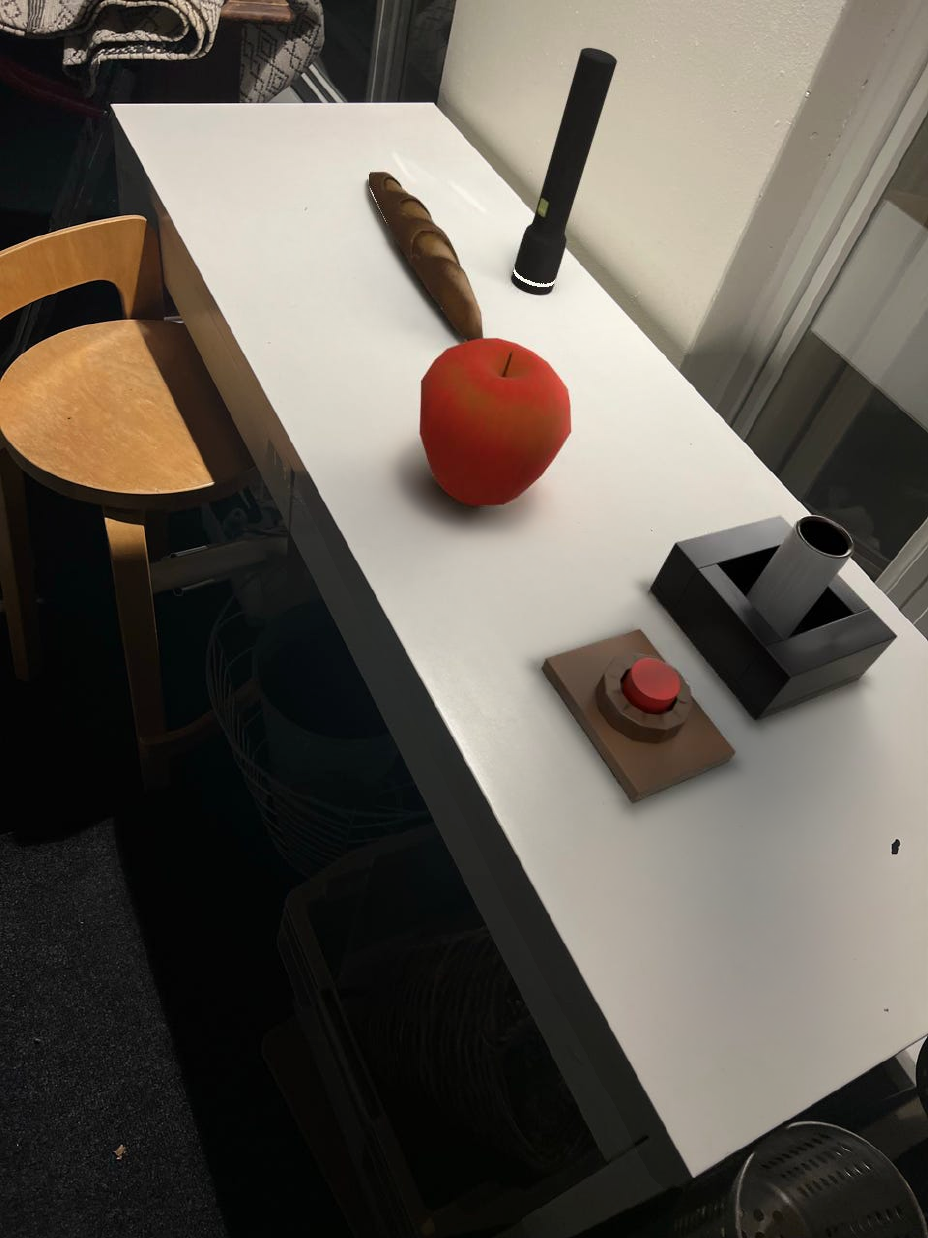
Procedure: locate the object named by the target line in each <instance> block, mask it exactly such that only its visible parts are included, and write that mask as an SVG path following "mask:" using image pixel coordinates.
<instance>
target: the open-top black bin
mask: <svg viewBox="0 0 928 1238" xmlns="http://www.w3.org/2000/svg"><path fill="white" fill-rule="evenodd" d="M792 528H793V526H792V525H791V524H790V523H789V522H788V521H787V520H786V519H785V517H783V515H781V514H778V515H775V516H770V517H768V518H764V519H759V520H756V521H752V522H749V523H745V524H741V525H737V526H734V527H733V526H732V527H730V528H726V529H722V530H719V531H714V532H710V533H706V534H703V535H699V536H695V537H692V538H688V539H684V540H680V541H676V542H675V543H674V544H673V546H672V547H671V549H670V551H669V553H668V555H667V556H666V558H665V559H664V562H663V564H662V566H661V568H660V570H659V571H658V573H657V575H656V576H655V579H654V581H653V582H652V584H651V586H650V587H649V590H650V592H651V593H652V594H653V596H655V598H656V599H657V600H658V601H659V603H660V604H661V605H662V606H663V608H664V609H665V610H666V612H668V614H669V615H670V616H671V618H672V619H673V620H674V622H676V624H677V625H678V626H679V627H680V629H681V630H682V631H683V633H684V634H685V635H686V637H688V639H689V640H690V641H691V643H693V645H694V646H695V648H696V649H697V650H698V652H700V654H701V655H702V656H703V657H704V659H705V660H706V661H707V662H708V664H709V665H710V666H711V667H712V669H713V670H714V671H715V672H716V674H717V675H718V676H719V677H720V678H721V679H722V681H723V682H724V683H725V684H726V686H727V687H728V688H729V690H730V691H731V692H732V694H733V695H734V696H735V697H736V698H737V700H739V702H740V703H741V704H742V706H743V707H744V708H745V709H746V711H747V712H748V713H749V715H750V716H751V717H752V718H753V719H754V721H759V720H762V719H764V718H766V717H769V716H771V715H774V714H776V713H779V712H781V711H784V710H786V709H788V708H791V707H794V706H796V705H798V704H801V703H803V702H806V701H808V700H811V699H813V698H815V697H817V696H820V695H823V694H825V693H828V692H830V691H833V690H835V689H838V688H840V687H842V686H845V685H847V684H850V683H852V682H854V681H857V680H860V679H861V678H862V677H863V676H864V674H866V672H867V671H868V670H869V669H870V668H871V666H873V664H874V663H876V661H877V660H878V659H879V658H880V657H881V655H883V654H884V652H885V651H886V650H887V649H888V648H889V647H890V646H891V644H893V642H894V641H895V640H896V639H897V638H898V635H897V634H896V633H895V631H894V630H892V629H891V627H890V626H888V624H886V622H885V621H884V620H883V619H882V618H881V617H880V616H879V615H878V614H877V613H876V612H875V611H874V610H873V608H871V607H870V606H869V605H868V603H866V602H865V600H864V599H863V598H862V597H861V596H860V595H859V594H857V592H856V591H855V590H854V589H853V588H852V587H851V586H850V585H849V584H848V583H847V581H845V580H844V579H843V578H842V576H840V575H839V573H837V575H836V576H835V577H834V579H833V580H832V581H831V583H830V584H829V585H828V586H827V588H826V589H825V590H824V592H823V593H822V594H821V596H820V597H819V598H818V599H817V601H816V602H815V603H814V605H813V606H812V607H811V609H810V610H809V611H808V613H807V614H806V615H805V616H804V618H803V619H802V620H801V622H800V623H799V624H798V626H797V627H796V628H795V629H794V631H793V632H792V633H791V635H790V636H789V637H788V638H787V639H784V640H782V638H781V637H780V636H779V635H778V634H777V632H776V631H775V630H774V629H773V628H772V627H771V626H770V624H769V623H768V622H767V621H766V620H765V619H764V618H763V616H762V615H761V614H760V613H759V612H758V611H757V610H756V608H755V607H754V606H753V605H752V604H751V603H750V602H749V600H748V599H747V598H746V596H747V594H748V593H749V591H750V590H751V588H752V587H753V585H754V584H755V582H756V581H757V579H758V578H759V576H760V575H761V574H762V572H763V571H764V569H765V568H766V566H767V565H768V563H769V562H770V560H771V559H772V557H773V556H774V554H775V553H776V551H777V550H778V548H779V547H780V545H781V544H782V542H783V541H784V539H785V538H786V537H787V535H788V534H789V532H790V531H791V529H792Z"/></svg>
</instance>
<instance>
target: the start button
mask: <svg viewBox="0 0 928 1238" xmlns="http://www.w3.org/2000/svg"><path fill="white" fill-rule="evenodd" d="M667 664H668V663H667ZM667 664H665V663H664V662H662V661H659V660H656V659H651V658H646V659H641V660H639V661H637V662H636V663H635V664H634V665H633V666H632V668H631V670H630V672H629V673H628V675H627V677H626V678H625V680H624V683H623V692H624V695H625V697H626V699H627V700H628V701H629V703H630V704H631V705H633V706H634V707H636V708H638V709H639V710H641V711H643V712H645V713H649V714H659V713H662V712H664V711H666V710H667V709H668V708H669V706H670V705H671V703H672V702H673V700H674V699H675V697H676V696H677V694H678V693H679V691H680V680H679V678H678V676H677V674H676V673H675V671H674V670H673V669H672V668H671V667H670V666H671V665H670V666H668V665H669V664H668V665H667Z"/></svg>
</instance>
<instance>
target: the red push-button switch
mask: <svg viewBox="0 0 928 1238" xmlns="http://www.w3.org/2000/svg"><path fill="white" fill-rule="evenodd" d="M646 658H651V659H656V660H659V661H662V662H664V663H665V664H667V665H668V666H670V667H671V668H672V669H673V670H674V671H675V673H676V674H677V676H678V678H679V680H680V691H679V693H678V694H677V696H676V697H675V699H674V700H673V702H672V703H671V705H670V706H669V708H668V709H667V710H666V711H664V712H662V713H659V714H649V713H645V712H643V711H641V710H639V709H638V708H636V707H634V706H633V705H631V704H630V703H629V701H628V700H627V699H626V697H625V695H624V692H623V683H624V680H625V678H626V677H627V675H628V673H629V672H630V670H631V668H632V666H633V665H634V664H635V663H636V662H637V661H639V660H641V659H646ZM541 669H542V671H543V673H544V674H545V675H546V677H547V678H548V680H549V681H550V682H551V684H552V685H553V687H554V689H555V690H556V692H557V693H558V694H559V696H560V697H561V699H562V701H563V702H564V703H565V705H566V706H567V708H568V710H570V712H571V713H572V715H573V716H574V718H575V719H576V721H577V722H578V723H579V726H580V727H581V728H582V730H583V732H584V733H585V734H586V735H587V737H588V739H589V740H590V742H591V743H592V744H593V746H594V747H595V749H596V751H597V752H598V753H599V754H600V756H601V757H602V759H603V761H604V762H605V763H606V765H607V766H608V768H609V770H610V771H611V772H612V774H613V776H614V777H615V778H616V779H617V781H618V783H619V784H620V786H621V788H622V789H623V790H624V791H625V793H626V794H627V796H628V797H629V799H630V800H631V802H633V803H635V802H636V801H639V800H641V799H643V798H646V797H648V796H651V795H653V794H655V793H658V792H660V791H662V790H665V789H667V788H669V787H672V786H674V785H677V784H679V783H681V782H684V781H686V780H688V779H690V778H693V777H694V776H695V777H696V776H697V775H701V774H702V773H704V772H707V771H709V770H711V769H714V768H716V767H719V766H720V765H723V764H725V763H727V762H730V760H731V759H732V758H733V757H734V755H736V750H735V749H734V748H733V746H732V745H731V744H730V743H729V741H728V740H727V739H726V737H725V736H724V735H723V734H722V732H721V731H720V730H719V728H718V727H717V726H716V725H715V723H714V722H713V721H712V719H711V718H710V717H709V715H708V714H707V713H706V712H705V710H704V709H703V707H702V706H701V705H700V703H699V702H697V700H696V699H695V698H694V696H693V694H692V690H691V687H690V685H689V684H688V682H687V681H686V679H684V677H683V675H682V674H681V673H680V672H679V671H678V669H677V668H675V667H674V666H672V665H670V664H668V662H667V661H666V660H665V659H664V657H663V656H662V655H661V654H660V652H659V651H658V650H657V649H656V647H655V646H654V645H653V643H652V642H651V641H650V639H649V638H648V636H646V634H645V633H644V631H643V630H642V628H638V629H635V630H631V631H627V632H625V633H622V634H619V635H616V636H612V637H609V638H606V639H603V640H600V641H597V642H594V643H591V644H587V645H584V646H580V647H578V648H577V647H576V648H574V649H572V650H569V651H565V652H561V653H559V654H555V655H551V656H549V657H546V658H545V660H544V662H543V664H542V666H541Z"/></svg>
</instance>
